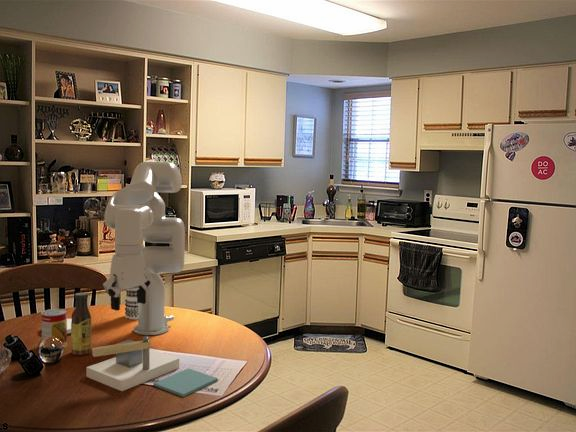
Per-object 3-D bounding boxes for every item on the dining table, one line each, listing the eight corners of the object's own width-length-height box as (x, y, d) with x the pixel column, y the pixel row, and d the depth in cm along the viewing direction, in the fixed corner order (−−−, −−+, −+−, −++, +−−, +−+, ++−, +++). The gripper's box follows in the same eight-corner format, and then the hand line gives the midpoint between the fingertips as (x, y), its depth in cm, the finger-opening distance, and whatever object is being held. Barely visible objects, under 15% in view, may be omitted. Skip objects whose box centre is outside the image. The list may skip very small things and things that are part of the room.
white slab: (144, 355, 185) (144, 327, 184) (179, 367, 176) (179, 338, 175) (86, 376, 167) (86, 345, 166) (122, 391, 158) (121, 358, 157)
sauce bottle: (84, 357, 182) (83, 297, 180) (67, 355, 183) (66, 295, 181) (95, 350, 188) (94, 292, 186) (78, 348, 190) (77, 290, 187)
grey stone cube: (129, 358, 174) (129, 339, 174) (142, 362, 171) (142, 343, 170) (116, 362, 170) (115, 343, 170) (129, 367, 167) (129, 348, 166)
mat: (188, 370, 173) (188, 368, 173) (217, 380, 167) (217, 378, 167) (153, 385, 162) (153, 383, 162) (183, 397, 155) (183, 394, 155)
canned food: (72, 344, 193) (71, 310, 192) (55, 351, 186) (55, 316, 185) (53, 341, 196) (53, 307, 195) (36, 348, 189) (35, 313, 187)
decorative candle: (152, 315, 229) (152, 254, 226) (137, 321, 221) (137, 258, 218) (134, 311, 233) (134, 252, 230) (119, 317, 225) (118, 255, 222)
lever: (92, 354, 159) (92, 343, 159) (148, 346, 167) (148, 335, 167) (93, 356, 157) (93, 345, 157) (150, 348, 165) (150, 337, 165)
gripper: (142, 245, 176) (142, 298, 177) (95, 251, 161) (96, 310, 163) (159, 247, 171) (159, 302, 173) (112, 255, 157) (112, 314, 159)
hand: (128, 306), depth 168 cm, fingers open, 9 cm apart
